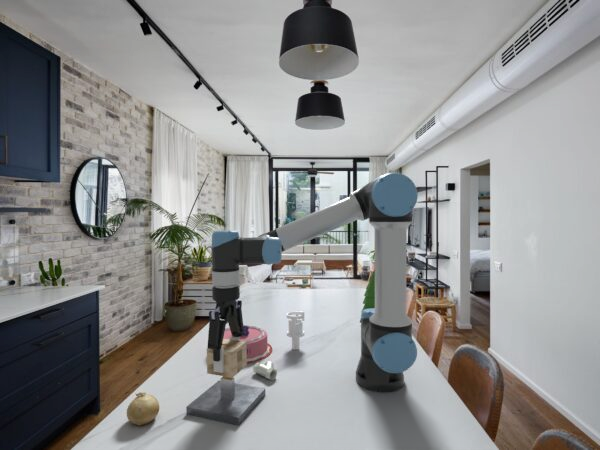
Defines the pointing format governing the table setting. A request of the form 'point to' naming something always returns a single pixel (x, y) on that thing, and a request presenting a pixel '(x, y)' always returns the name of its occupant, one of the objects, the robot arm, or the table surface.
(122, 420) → the table surface
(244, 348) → the taped cardboard box
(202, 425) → the table surface
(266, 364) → the pipe fitting
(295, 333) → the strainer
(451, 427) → the table surface
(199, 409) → the grey piece
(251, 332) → the cake
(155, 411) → the onion
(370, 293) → the decorative tree
